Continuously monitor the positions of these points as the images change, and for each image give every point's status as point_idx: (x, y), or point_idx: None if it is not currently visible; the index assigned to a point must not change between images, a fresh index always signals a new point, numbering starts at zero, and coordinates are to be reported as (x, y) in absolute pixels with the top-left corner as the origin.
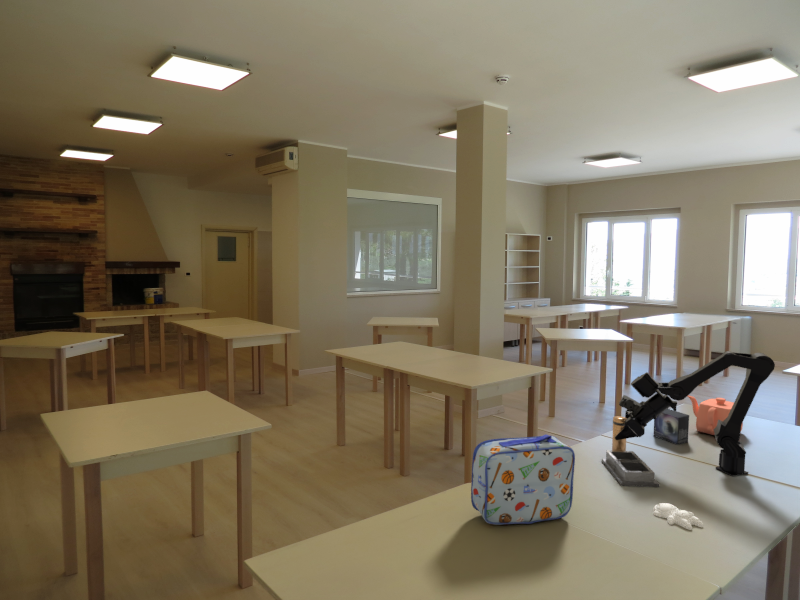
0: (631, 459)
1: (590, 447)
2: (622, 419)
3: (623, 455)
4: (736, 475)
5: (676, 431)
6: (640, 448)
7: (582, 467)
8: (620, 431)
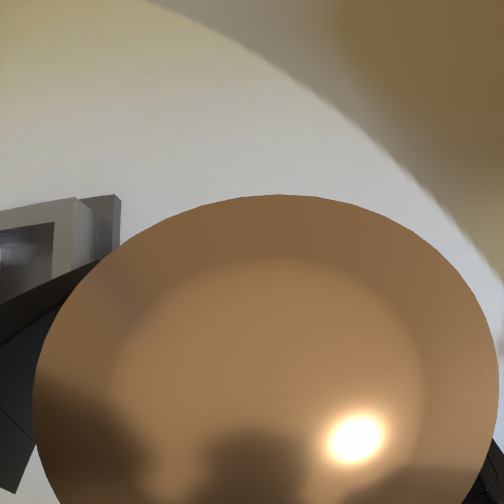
0: None
1: (351, 185)
2: (112, 498)
3: None
4: None
5: None
6: None
7: (60, 111)
8: (5, 306)
